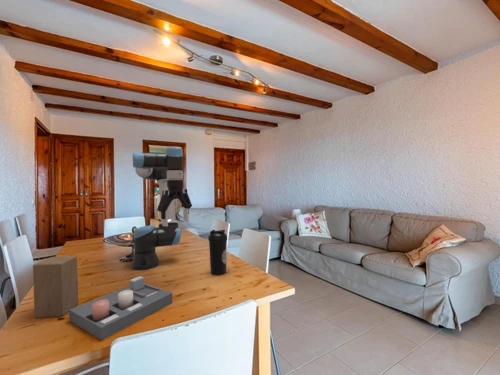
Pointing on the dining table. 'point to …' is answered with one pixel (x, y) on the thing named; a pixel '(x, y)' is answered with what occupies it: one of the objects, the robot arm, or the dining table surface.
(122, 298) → the button ivory
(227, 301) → the dining table surface
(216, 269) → the water bottle
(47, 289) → the wooden block
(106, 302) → the button coral
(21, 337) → the dining table surface
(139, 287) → the slider knob
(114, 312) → the console
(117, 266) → the dining table surface
